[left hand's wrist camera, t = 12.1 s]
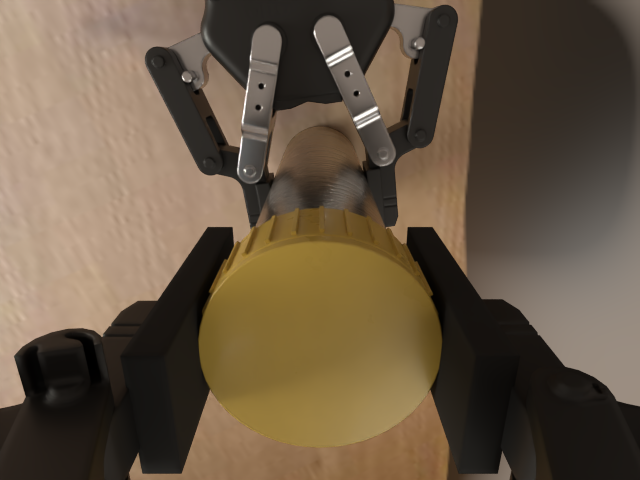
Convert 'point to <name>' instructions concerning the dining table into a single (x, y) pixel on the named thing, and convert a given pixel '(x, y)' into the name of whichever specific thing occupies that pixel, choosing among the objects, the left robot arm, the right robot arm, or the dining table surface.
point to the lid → (320, 330)
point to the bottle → (320, 177)
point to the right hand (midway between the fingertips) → (327, 238)
